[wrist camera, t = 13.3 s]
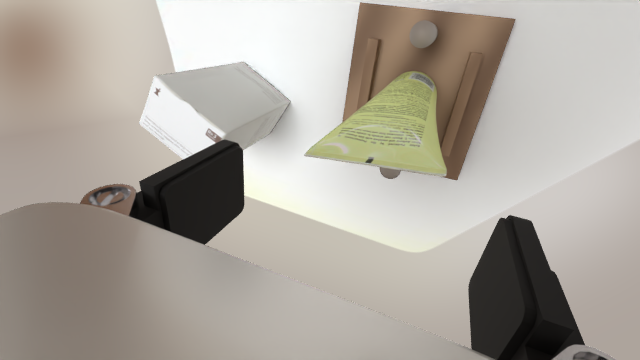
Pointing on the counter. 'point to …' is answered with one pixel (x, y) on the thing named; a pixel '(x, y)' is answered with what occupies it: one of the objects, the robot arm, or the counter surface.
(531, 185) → the counter surface
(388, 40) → the wooden tube holder
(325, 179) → the counter surface
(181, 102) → the skincare box
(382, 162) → the tube
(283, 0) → the counter surface
